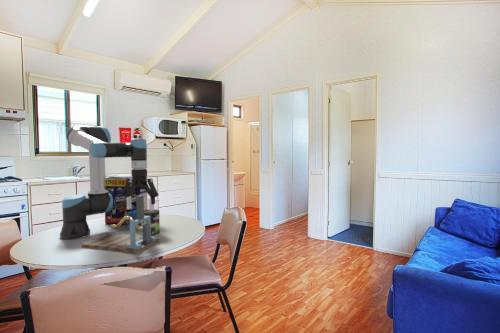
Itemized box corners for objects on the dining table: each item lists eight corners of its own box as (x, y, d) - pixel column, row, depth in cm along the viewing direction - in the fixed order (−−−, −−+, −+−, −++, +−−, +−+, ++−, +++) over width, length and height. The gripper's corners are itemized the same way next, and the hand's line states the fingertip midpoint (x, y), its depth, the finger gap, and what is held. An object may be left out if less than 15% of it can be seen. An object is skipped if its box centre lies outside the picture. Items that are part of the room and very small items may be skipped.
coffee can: (163, 232, 172) (162, 209, 171) (154, 237, 162) (153, 213, 161) (147, 231, 174) (147, 209, 173) (137, 236, 164) (137, 212, 163)
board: (81, 247, 147) (81, 244, 147) (107, 236, 164) (107, 234, 164) (137, 253, 138) (137, 250, 137) (158, 241, 155) (158, 238, 155)
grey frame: (124, 247, 141) (123, 197, 140) (143, 238, 156) (142, 193, 154) (138, 249, 139) (137, 198, 137) (156, 239, 153) (155, 193, 152)
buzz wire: (108, 241, 151) (107, 215, 150) (112, 239, 154) (111, 214, 153) (147, 245, 145) (146, 218, 144) (150, 243, 148) (149, 217, 147)
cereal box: (148, 221, 198) (148, 176, 198) (139, 225, 187) (139, 177, 187) (114, 220, 203) (113, 176, 202) (103, 224, 192) (102, 177, 191)
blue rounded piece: (146, 227, 183) (145, 209, 182) (139, 230, 176) (138, 211, 176) (130, 226, 186) (130, 208, 185) (123, 229, 179) (123, 210, 179)
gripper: (113, 168, 145) (114, 209, 146) (156, 169, 138) (157, 212, 139) (123, 168, 152) (125, 207, 153) (164, 168, 145) (165, 209, 146)
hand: (140, 209), depth 146 cm, fingers open, 13 cm apart
